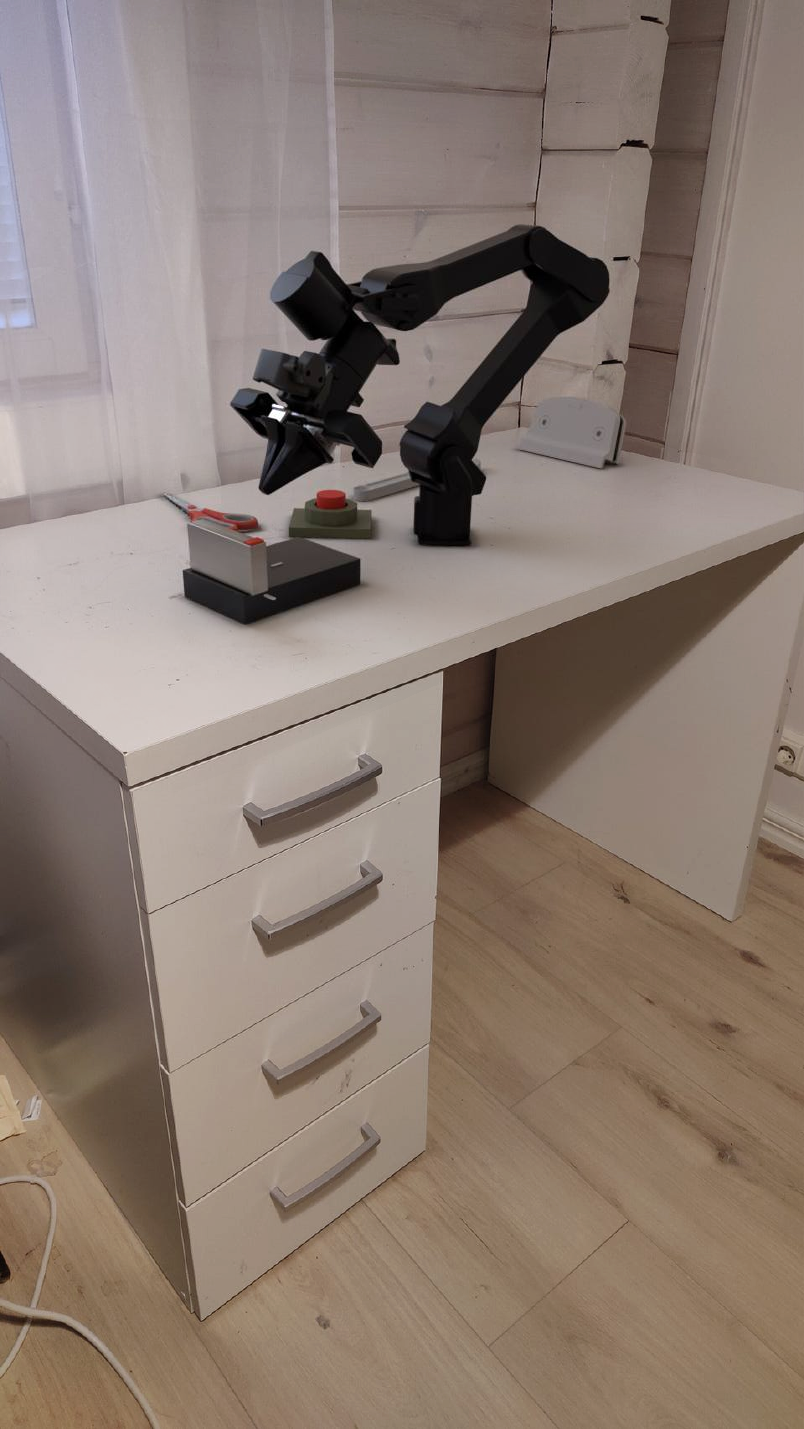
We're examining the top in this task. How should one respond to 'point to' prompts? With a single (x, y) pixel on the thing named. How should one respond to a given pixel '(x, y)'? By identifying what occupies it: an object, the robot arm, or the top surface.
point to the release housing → (330, 521)
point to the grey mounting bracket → (576, 431)
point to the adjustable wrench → (387, 486)
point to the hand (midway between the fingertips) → (263, 492)
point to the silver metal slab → (228, 556)
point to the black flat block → (279, 581)
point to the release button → (331, 499)
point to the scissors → (218, 516)
